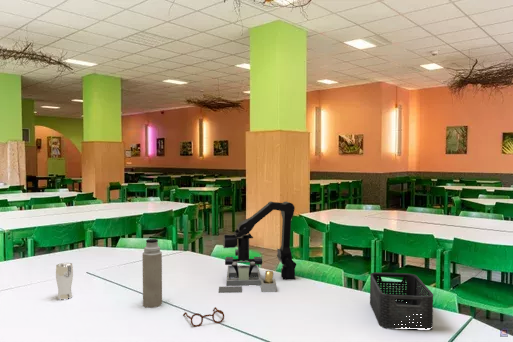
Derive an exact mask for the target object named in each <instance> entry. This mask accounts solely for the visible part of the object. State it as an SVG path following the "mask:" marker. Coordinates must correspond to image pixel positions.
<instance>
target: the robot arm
mask: <svg viewBox="0 0 513 342" xmlns="http://www.w3.org/2000/svg"><path fill="white" fill-rule="evenodd" d="M295 208H296V207H295V205H294V204H293V203H292V202H290V201H283V202H276V201H268V203H266V205H264V206H263V207H262V208H260V209H259V210H258V211H256V212H255V213H254V214H253V215H251V216H250V217H248V218H246V219H244V220H241V221H240V222H239V223H238V224H237V225H236V229H235V231H233V234H227V233H226V234H225V233H224V234H223V238H222V247H223V249H229V248H230V249H233V248H235V250H234V251H235V257H237V258H234V257H233V256H226V257H225V258H224V259H225V260H224V264H225V265H226V266H231V265H232V267H234V269H235V271H236V273H237V276H238V277H237V279H239V272H238V264H239V263H240V264H241V263H243V264H244V263H245V264H246V263H248V264H249V265H250V266H249V278H251V277H250V274H251V271H252V269H253V267H254V266H256V265H258V266H259V265H263V258H262V257H261V256H253V258H250V239H254V236H252V235H251V233H250V232H251V231H252V230H253V228H254V227H255V226H256V225H257V224H258V223H259V222H260V221H261V220H263V219H264V218H265V217H266V216H268V215H269V214H271V213H272V212H273V211H279V212H280V215H281V217H282V224H281V226H282V227H281V241H280V243H281V244H280V248H277V253H276V257H277V259H278V261H279V262H280V263H281V265H282V266H281V267H282V268H281V269H280V270H281V271H280V277H281V278H282V280H296V267H297V263H296V262H295V261H294V260H293V257H292V251H291V232H292V231H291V229H292V228H291V227H292V226H291V225H292V219H293V217H294V214H295V210H296V209H295ZM236 247H237V249H236Z"/></svg>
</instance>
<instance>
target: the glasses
mask: <svg viewBox="0 0 513 342" xmlns="http://www.w3.org/2000/svg"><path fill="white" fill-rule="evenodd" d="M212 312H213V313H210V314H204V315H202V314H201V313H198V312H197V313H194V314H193V315H191V316H190V315H189V314H188V312H185V311H184V313H183V314H182V316H183V317H185V316H186V317H187V319H190V324H191V326H193V327H200V326H202V324H203V321H204V318H205V317H211V318H212V321H213V322H214V323H216V324H220V323H223V322H224V319H225V313H224V311H223V310H221V309H218V308H217V307H216V306H215V307H214V308H213V309H212ZM216 313H219V314H221V315H222V318H221V319H220V320H218V321H216V319H215V314H216ZM195 316H199V317H200V318H201V320H200V323H199V324H194V323H193V319H194V317H195Z"/></svg>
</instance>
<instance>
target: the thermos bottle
mask: <svg viewBox="0 0 513 342" xmlns="http://www.w3.org/2000/svg"><path fill="white" fill-rule="evenodd" d="M158 242H159V239H157V238H148V239H146V240H145V245H146V246H145V247H143V252H142V306H143V307H145V308H148V309H149V308H151V309H152V308H158V307H160V306H162V305H163V264H162V263H163V259H162V258H163V256H162V254H163V252H162V251H161V247H160V246H159V243H158Z"/></svg>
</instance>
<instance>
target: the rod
mask: <svg viewBox="0 0 513 342" xmlns="http://www.w3.org/2000/svg"><path fill="white" fill-rule="evenodd" d="M273 279H274V271H273V270H265V275H264V280H265V283H272V282H273Z"/></svg>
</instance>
